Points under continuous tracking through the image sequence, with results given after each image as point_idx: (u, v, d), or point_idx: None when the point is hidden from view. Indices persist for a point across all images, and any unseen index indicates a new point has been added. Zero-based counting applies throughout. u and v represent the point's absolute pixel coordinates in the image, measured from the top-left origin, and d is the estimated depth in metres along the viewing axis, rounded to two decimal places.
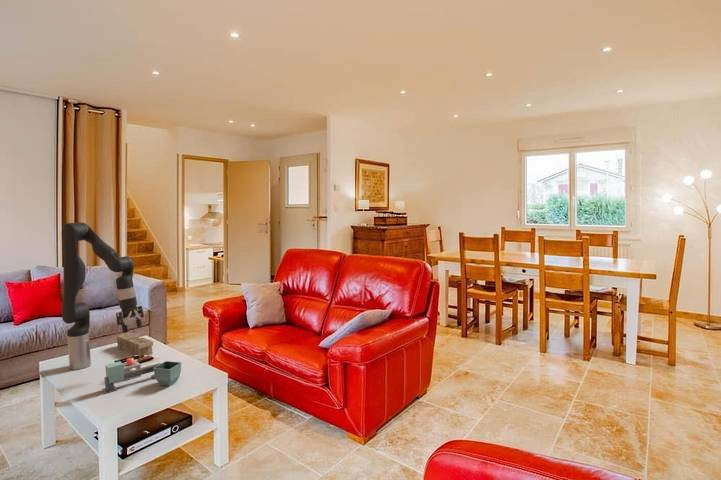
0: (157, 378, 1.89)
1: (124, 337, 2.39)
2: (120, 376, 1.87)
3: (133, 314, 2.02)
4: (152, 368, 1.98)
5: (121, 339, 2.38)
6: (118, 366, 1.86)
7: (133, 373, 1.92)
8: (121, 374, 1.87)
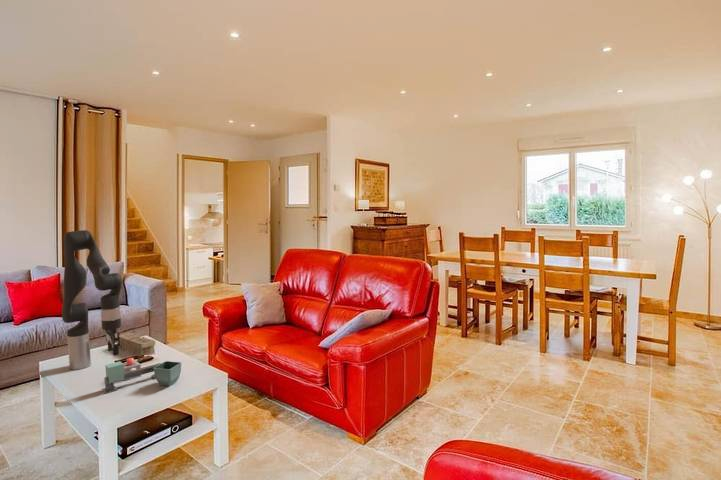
0: (157, 378, 1.89)
1: (125, 337, 2.39)
2: (120, 376, 1.87)
3: None
4: (152, 368, 1.98)
5: (122, 339, 2.38)
6: (118, 366, 1.86)
7: (133, 373, 1.92)
8: (121, 374, 1.87)
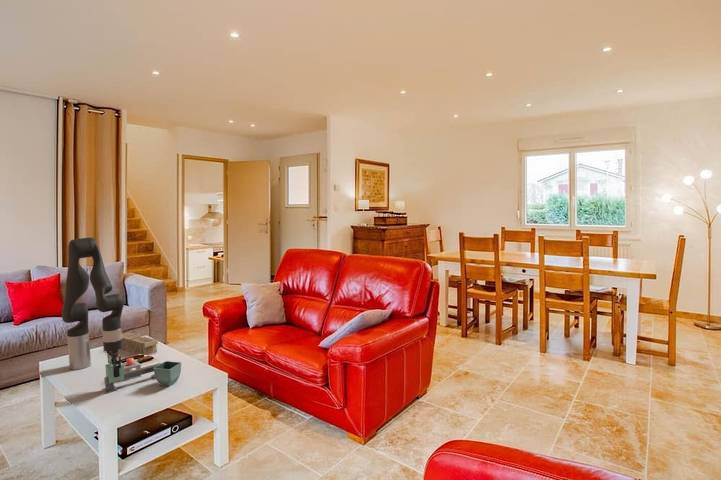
0: (157, 378, 1.89)
1: (126, 337, 2.39)
2: (120, 376, 1.87)
3: None
4: (152, 368, 1.98)
5: (123, 339, 2.38)
6: None
7: (133, 373, 1.92)
8: (121, 374, 1.87)
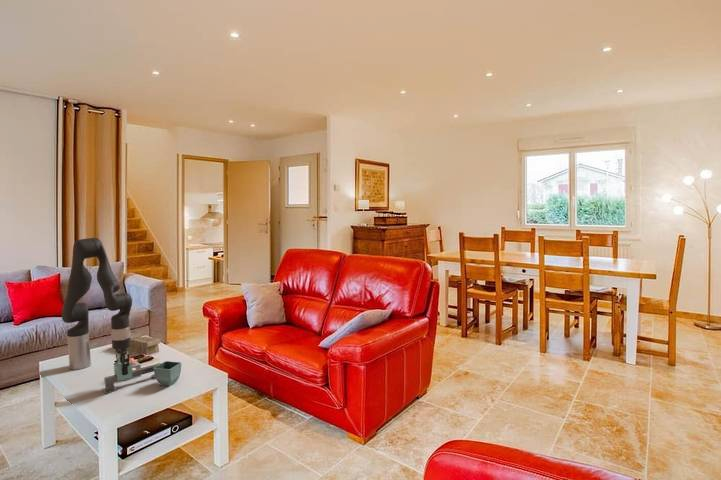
0: (157, 378, 1.89)
1: None
2: (128, 374, 1.89)
3: None
4: (152, 368, 1.98)
5: None
6: None
7: (133, 373, 1.92)
8: (129, 372, 1.90)
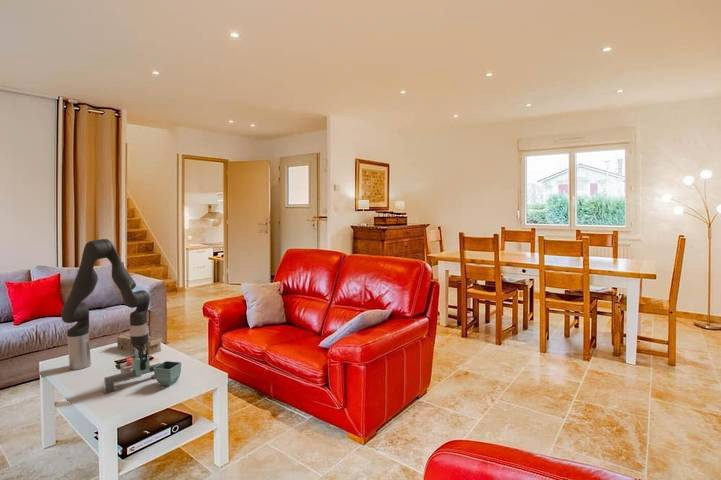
0: (157, 378, 1.89)
1: (126, 337, 2.39)
2: (146, 369, 1.95)
3: None
4: (152, 368, 1.98)
5: (123, 339, 2.38)
6: None
7: (133, 373, 1.92)
8: (147, 367, 1.95)
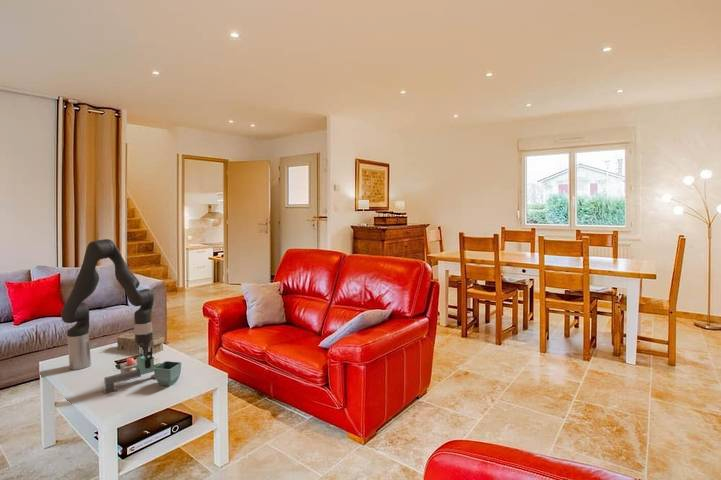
0: (157, 378, 1.89)
1: (127, 337, 2.39)
2: (150, 368, 1.96)
3: None
4: None
5: (124, 339, 2.38)
6: None
7: (133, 373, 1.92)
8: (151, 366, 1.96)
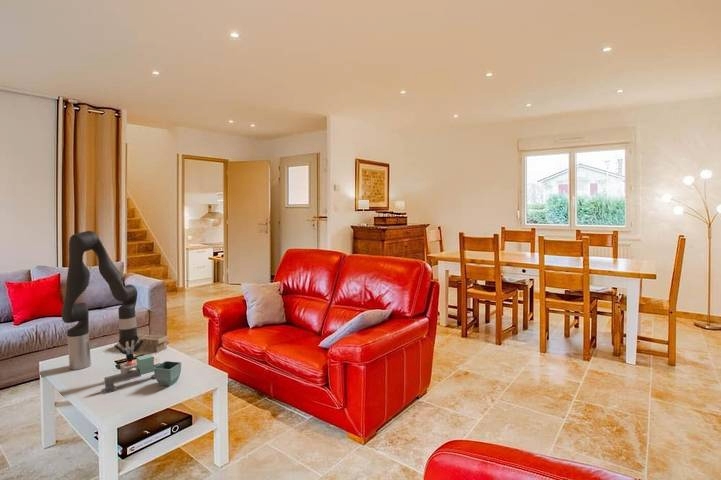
0: (157, 378, 1.89)
1: None
2: (150, 368, 1.96)
3: None
4: None
5: None
6: (149, 358, 1.95)
7: (133, 373, 1.92)
8: (151, 366, 1.96)
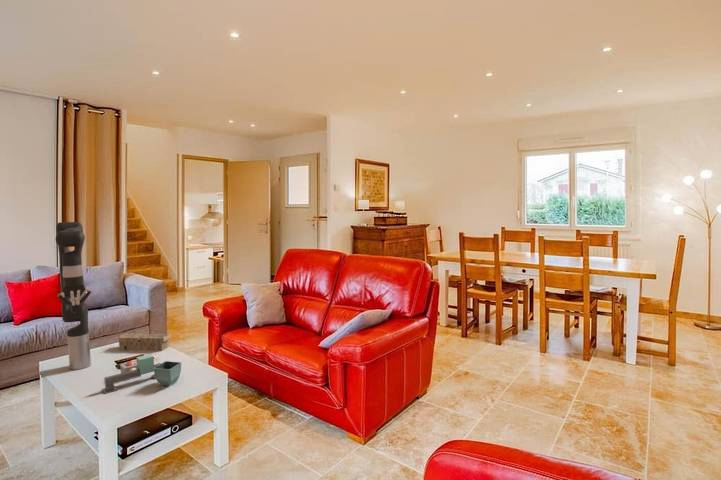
0: (157, 378, 1.89)
1: (130, 337, 2.39)
2: (150, 368, 1.96)
3: None
4: None
5: (128, 339, 2.38)
6: (149, 358, 1.95)
7: (133, 373, 1.92)
8: (151, 366, 1.96)
